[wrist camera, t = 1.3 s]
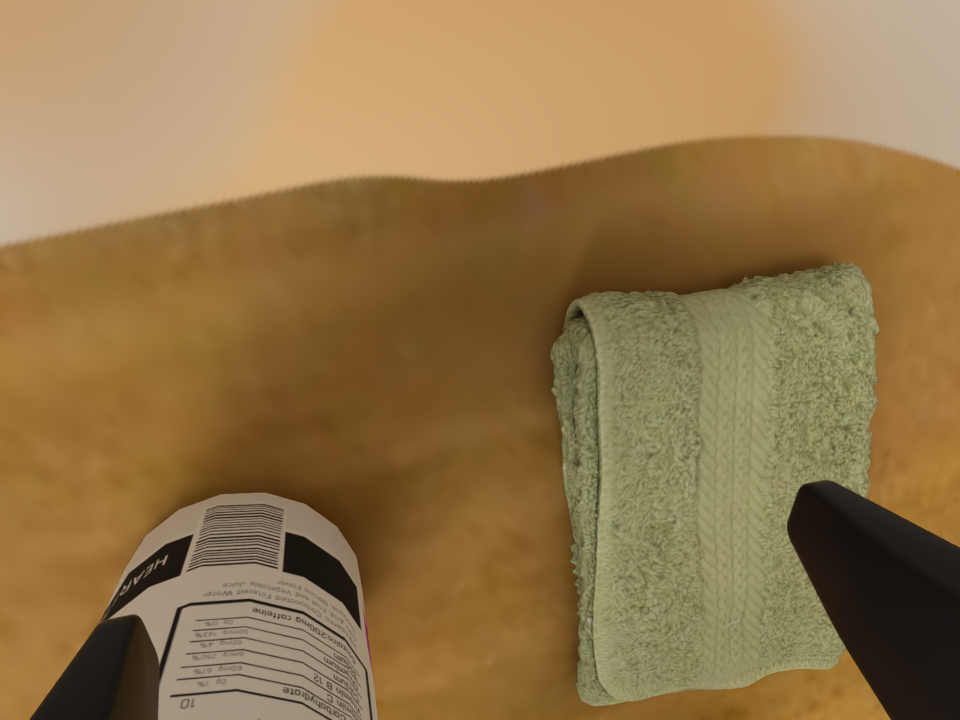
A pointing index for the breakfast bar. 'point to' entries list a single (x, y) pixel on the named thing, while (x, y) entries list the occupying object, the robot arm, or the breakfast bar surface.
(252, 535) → the supplement can
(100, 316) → the breakfast bar surface
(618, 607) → the washcloth
